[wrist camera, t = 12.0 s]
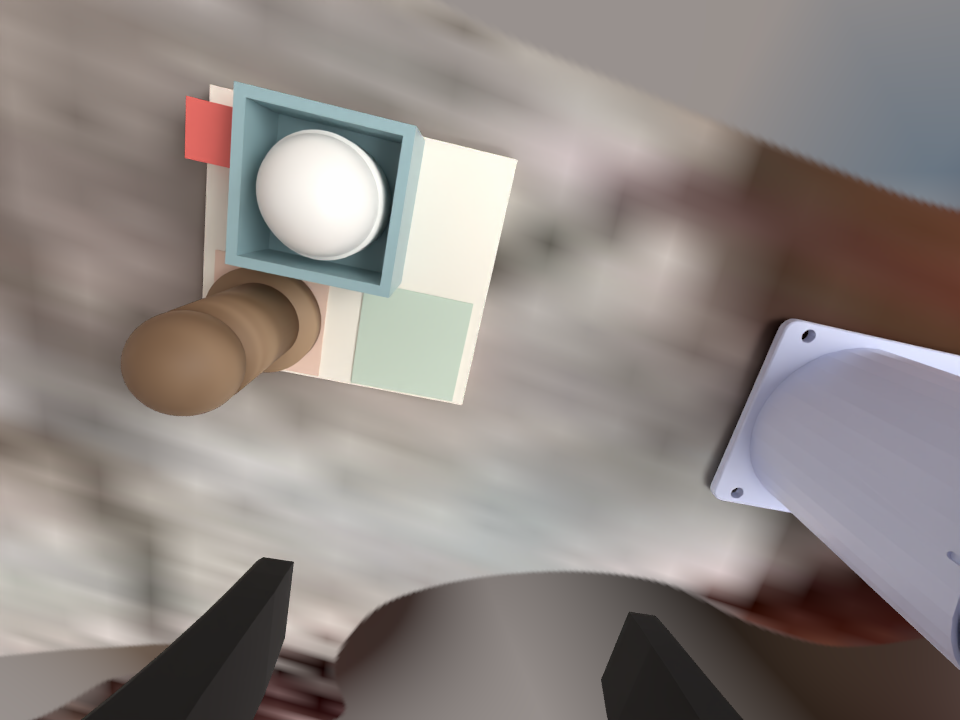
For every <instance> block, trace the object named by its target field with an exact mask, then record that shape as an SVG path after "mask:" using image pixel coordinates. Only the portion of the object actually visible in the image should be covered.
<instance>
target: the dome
mask: <svg viewBox="0 0 960 720" xmlns="http://www.w3.org/2000/svg"><path fill="white" fill-rule="evenodd" d="M256 197H257V202H258V206H259V210H260V212H261V215H262V217H263V219H264V221H265V222H266V224H267V225H268V227H269V228H270V230H271V231H272V232H273V234H274V235H275V236H276V237H277V238H278V239H279V240H280V241H281V242H282V243H283V244H284V245H285V246H287V247H288V248H290V249H291V250H293V251H294V252H296V253H298V254H300V255H302V256H305V257H308V258H311V259H316V260H338V259H341V258H345V257H347V256H350V255H352V254H355V253H357V252H359V251H362V250H364V249H365V248H367V247H369V246H370V245H371V244H373V243H374V242H375V241H376V240H377V239H378V238H379V237H380V235H381V234H382V232H383V231H384V229H385V227H386V225H387V223H388V220H389V216H390V212H391V193H390V188H389V184H388V181H387V179H386V176H385V174H384V172H383V170H382V169H381V167H380V165H379V164H378V163H377V161H376V160H375V159H374V158H373V157H372V156H371V155H370V154H369V153H368V152H366V151H365V150H364V149H362V148H361V147H359V146H358V145H356V144H354V143H353V142H351V141H349V140H347V139H346V138H344V137H342V136H339V135H337V134H335V133H332V132H328V131H323V130H302V131H298V132H295V133H292V134H290V135H288V136H286V137H284V138H283V139H281V140H280V141H278V142H277V143H276V144H275V145H274V146H273V147H272V148H271V149H270V151H269V152H268V153H267V155H266V156H265V158H264V160H263V161H262V163H261V166H260V168H259V171H258V175H257V180H256Z"/></svg>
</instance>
